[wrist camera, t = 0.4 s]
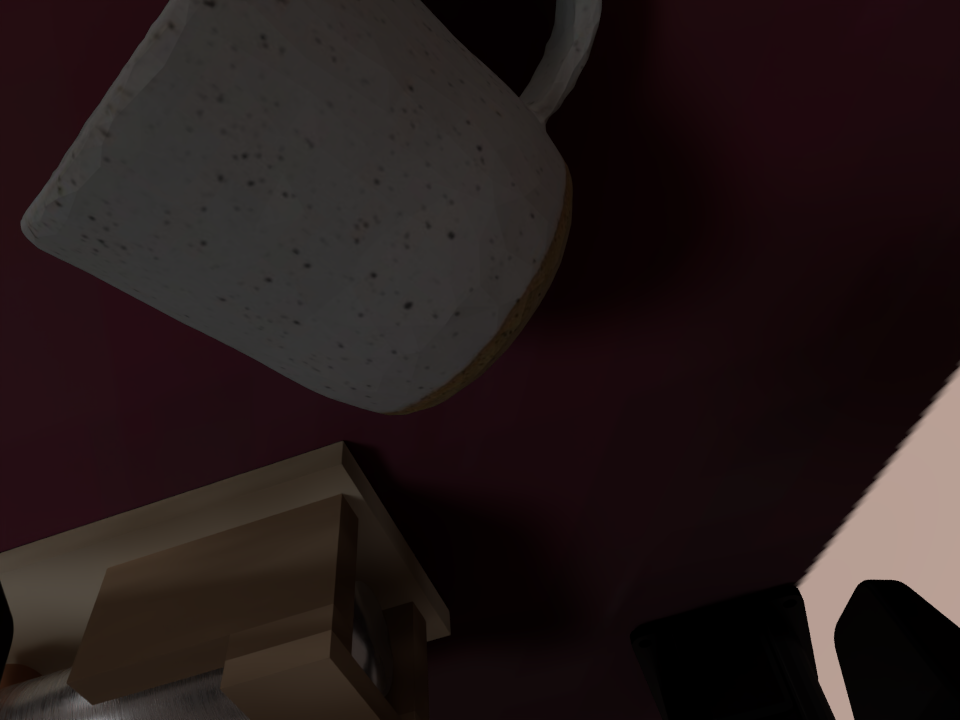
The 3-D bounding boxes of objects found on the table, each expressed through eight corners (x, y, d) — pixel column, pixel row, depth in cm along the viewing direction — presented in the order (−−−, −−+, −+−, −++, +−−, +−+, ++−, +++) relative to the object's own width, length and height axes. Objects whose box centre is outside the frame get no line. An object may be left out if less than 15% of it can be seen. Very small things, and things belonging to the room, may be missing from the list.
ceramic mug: (376, 314, 22) (373, 524, 16) (88, 125, 19) (-58, 300, 13) (670, -4, 18) (816, 112, 12) (375, -324, 15) (367, -389, 9)
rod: (401, 616, 28) (402, 753, 24) (-76, 755, 31) (-144, 900, 27) (340, 526, 25) (329, 666, 21) (-179, 688, 28) (-271, 838, 24)
